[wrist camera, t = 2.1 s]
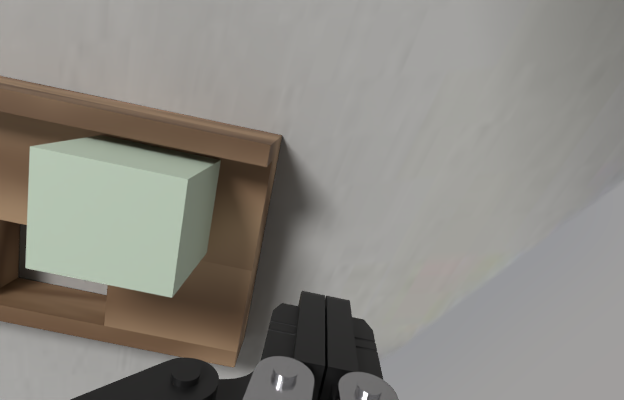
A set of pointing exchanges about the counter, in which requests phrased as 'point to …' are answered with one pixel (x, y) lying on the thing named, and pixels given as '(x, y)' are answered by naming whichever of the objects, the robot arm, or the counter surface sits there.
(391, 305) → the counter surface
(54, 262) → the block
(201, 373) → the robot arm
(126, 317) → the box
